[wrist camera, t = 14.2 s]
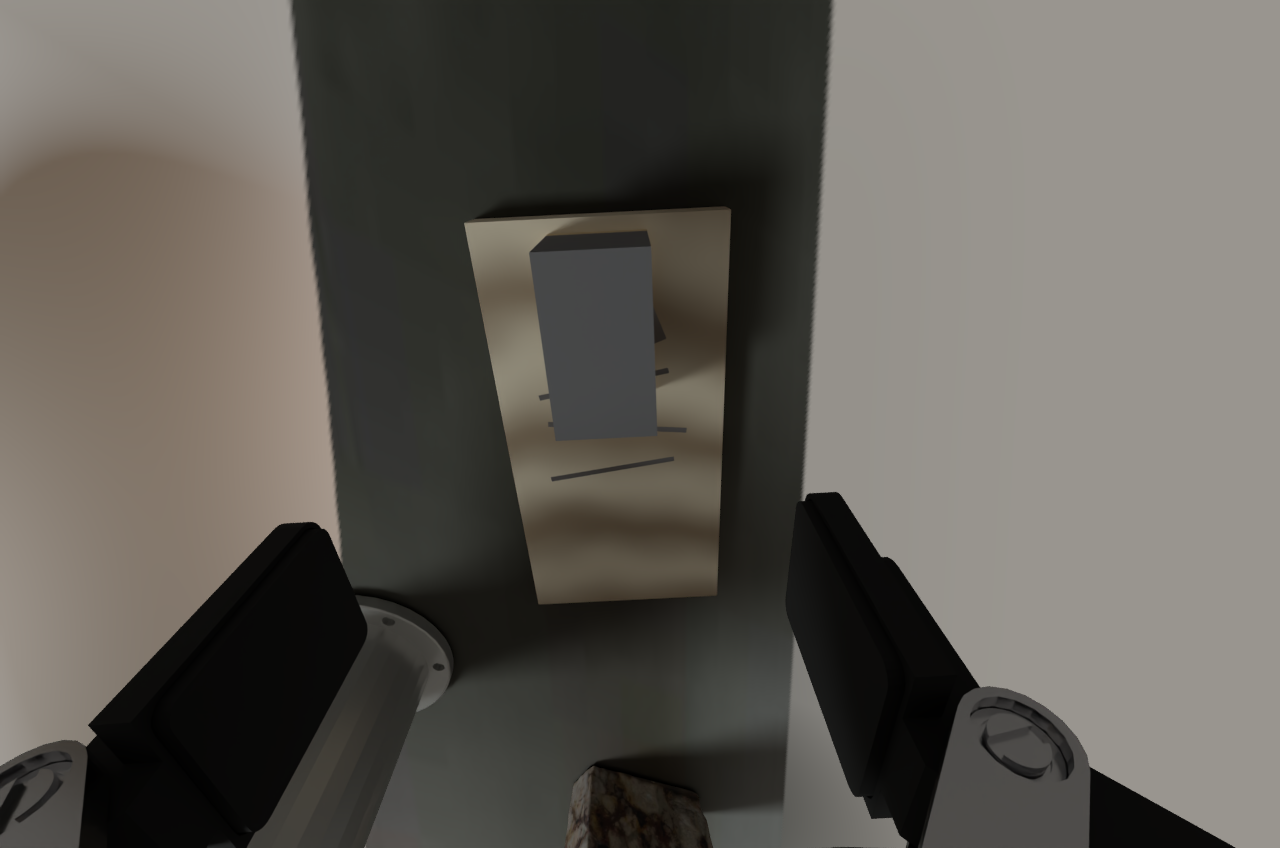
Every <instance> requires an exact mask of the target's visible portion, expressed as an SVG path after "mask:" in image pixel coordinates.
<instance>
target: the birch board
mask: <svg viewBox="0 0 1280 848" xmlns="http://www.w3.org/2000/svg"><path fill="white" fill-rule="evenodd" d="M464 224H465V229H466V234H467V239H468V245H469V250H470V255H471V260H472V265H473V270H474V275H475V280H476V286H477V291H478V296H479V301H480V306H481V311H482V316H483V322H484V327H485V332H486V337H487V342H488V347H489V352H490V357H491V363H492V368H493V373H494V378H495V383H496V388H497V393H498V398H499V404H500V409H501V414H502V419H503V424H504V429H505V434H506V440H507V445H508V450H509V455H510V460H511V465H512V470H513V475H514V481H515V486H516V491H517V496H518V501H519V506H520V511H521V517H522V522H523V527H524V532H525V537H526V542H527V547H528V552H529V558H530V563H531V568H532V573H533V578H534V583H535V588H536V593H537V599H538V604H558V603H578V602H598V601H618V600H638V599H659V598H679V597H699V596H717V579H718V552H719V525H720V497H721V470H722V443H723V416H724V388H725V361H726V334H727V307H728V279H729V252H730V225H731V209H729V208H727V207H725V206H722V207H702V208H683V209H663V210H643V211H624V212H604V213H584V214H565V215H545V216H525V217H506V218H486V219H473V220H470V221H468V222H466V223H464ZM638 229H647V232H648V236H649V240H650V244H651V256H652V287H653V317H654V348H655V379H656V409H657V436H647V437H627V438H607V439H587V440H567V441H556V440H555V433H554V426H553V419H552V412H551V405H550V398H549V390H548V383H547V376H546V369H545V362H544V355H543V348H542V341H541V334H540V327H539V320H538V313H537V306H536V299H535V292H534V285H533V278H532V271H531V264H530V257H529V252H530V251H531V250H532V249H533V248H534V247H535V246H536V245H537V244H538V243H539V242H540V241H541V240H542V239H543V238H544V237H545V236H546V235H547V234H558V233H578V232H598V231H618V230H638Z"/></svg>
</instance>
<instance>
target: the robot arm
mask: <svg viewBox="0 0 1280 848" xmlns="http://www.w3.org/2000/svg"><path fill="white" fill-rule="evenodd" d="M786 610H787V615H788V618H789V621H790V624H791V627H792V630H793V632H794V635H795V638H796V641H797V643H798V646H799V649H800V652H801V654H802V657H803V660H804V663H805V665H806V669H807V671H808V674H809V677H810V680H811V683H812V685H813V688H814V691H815V694H816V696H817V699H818V702H819V705H820V708H821V710H822V713H823V716H824V718H825V721H826V724H827V727H828V730H829V732H830V735H831V738H832V741H833V744H834V746H835V749H836V752H837V755H838V757H839V760H840V763H841V766H842V769H843V771H844V774H845V777H846V780H847V783H848V785H849V788H850V789H851V792H852V793H853V795H854V796H855V797H862V796H863V797H864V800H865V802H866V806H867V808H868V811H869V814H870V816H871V819H877V818H893V820H894V823H895V825H896V828H897V830H898V833H899V835H900V836H901V837H903V838H904V839H905V840H907V845H906V848H1235V847H1233V846H1232V845H1230V844H1228V843H1226V842H1224V841H1222V840H1221V839H1219V838H1217V837H1215V836H1213V835H1212V834H1210V833H1208V832H1206V831H1204V830H1203V829H1201V828H1199V827H1197V826H1195V825H1194V824H1192V823H1190V822H1188V821H1186V820H1185V819H1183V818H1181V817H1179V816H1177V815H1176V814H1174V813H1172V812H1170V811H1168V810H1167V809H1165V808H1163V807H1161V806H1159V805H1158V804H1155V803H1154V802H1152V801H1150V800H1148V799H1147V798H1145V797H1143V796H1141V795H1140V794H1138V793H1136V792H1134V791H1132V790H1130V789H1129V788H1127V787H1125V786H1123V785H1121V784H1120V783H1118V782H1116V781H1114V780H1112V779H1111V778H1109V777H1107V776H1105V775H1103V774H1101V773H1100V772H1098V771H1096V770H1094V769H1093V768H1091V767H1089V763H1088V758H1087V754H1086V753H1085V751H1084V749H1083V747H1082V745H1081V743H1080V742H1079V740H1078V738H1077V737H1076V736H1075V734H1074V733H1073V732H1072V731H1071V730H1070V729H1069V728H1068V726H1067V725H1066V724H1065V723H1064V722H1063V721H1062V720H1061V719H1060V718H1058V717H1057V716H1056V715H1055V714H1054V713H1052V712H1051V711H1050V710H1049V709H1047V708H1046V707H1044V706H1043V705H1041V704H1040V703H1038V702H1036V701H1034V700H1032V699H1031V698H1029V697H1027V696H1025V695H1022V694H1020V693H1017V692H1014V691H1011V690H1008V689H1004V688H997V687H990V686H989V687H982V688H980V687H979V685H978V684H977V682H976V681H975V679H974V678H973V676H972V675H971V673H970V672H969V670H968V669H967V668H966V666H965V664H964V663H963V661H962V660H961V659H960V657H959V656H958V654H957V653H956V651H955V650H954V648H953V647H952V645H951V644H950V642H949V641H948V639H947V638H946V636H945V635H944V634H943V632H942V631H941V629H940V628H939V626H938V625H937V623H936V622H935V620H934V619H933V617H932V616H931V614H930V613H929V611H928V610H927V609H926V607H925V605H924V604H923V603H922V601H921V600H920V598H919V597H918V595H917V593H916V592H915V591H914V589H913V588H912V586H911V585H910V583H909V582H908V580H907V579H906V577H905V576H904V574H903V573H902V571H901V570H900V568H899V567H898V566H897V565H896V563H895V562H894V561H893V560H892V559H890V558H888V557H881V556H880V555H879V553H878V552H877V550H876V549H875V547H874V546H873V544H872V543H871V541H870V539H869V538H868V536H867V535H866V533H865V532H864V530H863V529H862V527H861V526H860V524H859V523H858V521H857V519H856V518H855V516H854V515H853V513H852V512H851V510H850V509H849V507H848V505H847V504H846V502H845V501H844V499H843V498H842V496H841V495H840V494H839V493H837V492H828V493H812V494H811V493H810V494H808V495H807V496H806V499H805V501H799V502H798V503H797V506H796V514H795V522H794V531H793V540H792V548H791V557H790V566H789V574H788V583H787V592H786ZM453 667H454V658H453V655H452V651H451V648H450V646H449V644H448V643H447V641H446V639H445V637H444V636H443V635H442V634H441V633H440V632H439V631H438V629H437V628H436V627H435V626H434V625H432V624H431V623H430V622H429V621H427V620H426V619H425V618H424V617H422V616H420V615H419V614H417V613H415V612H414V611H412V610H410V609H408V608H406V607H403V606H401V605H398V604H396V603H394V602H390V601H386V600H383V599H379V598H374V597H367V596H361V595H355V594H354V592H353V589H352V587H351V584H350V582H349V580H348V577H347V575H346V573H345V570H344V568H343V566H342V563H341V561H340V559H339V556H338V554H337V552H336V549H335V547H334V545H333V542H332V540H331V538H330V536H329V533H328V532H327V531H326V530H325V529H321V528H320V526H319V525H318V524H316V523H314V522H303V523H287V524H281V525H279V526H278V527H276V528H275V529H274V530H273V531H272V532H271V533H270V534H269V535H268V536H267V537H266V538H265V540H264V541H263V542H262V543H261V544H260V545H259V546H258V547H257V548H256V549H255V550H254V551H253V552H252V553H251V554H250V555H249V556H248V558H247V559H246V560H245V561H244V562H243V563H242V564H241V565H240V566H239V567H238V568H237V569H236V570H235V571H234V572H233V573H232V574H231V575H230V576H229V578H228V579H227V580H226V581H225V582H224V583H223V584H222V585H221V586H220V587H219V588H218V589H217V590H216V591H215V592H214V593H213V594H212V595H211V596H210V597H209V598H208V600H207V601H206V602H205V603H204V604H203V605H202V606H201V607H200V608H199V609H198V610H197V611H196V612H195V613H194V614H193V615H192V616H191V617H190V619H189V620H188V621H187V622H186V623H185V624H184V625H183V626H182V627H181V628H180V629H179V630H178V631H177V632H176V633H175V634H174V635H173V636H172V637H171V639H170V640H169V641H168V642H167V643H166V644H165V645H164V646H163V647H162V648H161V649H160V650H159V651H158V652H157V653H156V654H155V655H154V656H153V657H152V658H151V659H150V661H149V662H148V663H147V664H146V665H145V666H144V667H143V668H142V669H141V670H140V671H139V672H138V673H137V674H136V675H135V676H134V677H133V678H132V679H131V681H130V682H129V683H128V684H127V685H126V686H125V687H124V688H123V689H122V690H121V691H120V692H119V693H118V694H117V695H116V696H115V697H114V698H113V700H112V701H111V702H110V703H109V704H108V705H107V706H106V707H105V708H104V709H103V710H102V711H101V712H100V713H99V714H98V715H97V716H96V717H95V718H94V720H93V721H92V722H91V723H90V724H89V725H88V726H89V727H90V728H91V729H92V730H93V731H94V732H95V733H96V735H97V736H96V737H95V738H94V739H93V740H92V741H91V742H90V743H89V745H88V746H87V747H86V746H84V745H83V744H81V743H80V742H78V741H72V740H62V741H57V742H53V743H49V744H45V745H42V746H39V747H37V748H35V749H32V750H30V751H28V752H25V753H23V754H21V755H19V756H17V757H15V758H14V759H12V760H10V761H9V762H7V763H5V764H3V765H1V766H0V848H364V847H365V844H366V842H367V839H368V836H369V834H370V831H371V828H372V826H373V823H374V821H375V818H376V815H377V813H378V810H379V807H380V805H381V802H382V800H383V797H384V794H385V792H386V789H387V786H388V784H389V781H390V779H391V776H392V773H393V771H394V768H395V765H396V763H397V760H398V757H399V755H400V752H401V750H402V747H403V744H404V742H405V739H406V736H407V734H408V731H409V729H410V726H411V723H412V721H413V718H414V715H415V713H416V712H418V711H420V710H422V709H425V708H427V707H428V706H430V705H431V704H433V703H434V702H436V701H437V700H438V699H439V698H440V697H441V696H442V695H443V694H444V693H445V691H446V689H447V687H448V685H449V682H450V679H451V676H452V672H453ZM833 848H861V847H833Z"/></svg>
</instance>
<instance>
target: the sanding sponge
mask: <svg viewBox="0 0 1280 848" xmlns="http://www.w3.org/2000/svg"><path fill="white" fill-rule="evenodd" d="M529 257H530V264H531V271H532V278H533V285H534V292H535V299H536V306H537V313H538V320H539V327H540V334H541V341H542V348H543V355H544V362H545V369H546V376H547V383H548V390H549V398H550V405H551V412H552V419H553V426H554V433H555V440H556V441H567V440H587V439H607V438H627V437H647V436H657V409H656V379H655V348H654V317H653V287H652V256H651V244H650V240H649V236H648V232H647V229H638V230H618V231H598V232H578V233H558V234H547V235H546V236H545V237H544V238H543V239H542V240H541V241H540V242H539V243H538V244H537V245H536V246H535V247H534V248H533V249H532V250H531V251H530V252H529Z"/></svg>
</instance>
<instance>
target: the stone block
mask: <svg viewBox="0 0 1280 848" xmlns="http://www.w3.org/2000/svg"><path fill="white" fill-rule="evenodd" d="M565 848H713V846H712V842H711V838H710V834H709V829H708V824H707V820H706V818H705V817H704V815H703V812H702V810H701V806H700V801H699V796H697V793H694V792H692V791H689V790H686V789H682V788H677V787H673V786H669V785H666V784H662V783H658V782H655V781H651V780H646V779H642V778H638V777H633V776H631V775H629V774H625V773H621V772H615V771H611V770H607V769H604V768H598V767H596V766H592V767H591V768H590V769H588V770H587V771H586V772H585V773H584V774H583V775H582V776H581V777H580V778H579V779H578V780H577V781H576V782H575V783H574V786H573V792H572V797H571V803H570V809H569V819H568V828H567V834H566V841H565Z"/></svg>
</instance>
